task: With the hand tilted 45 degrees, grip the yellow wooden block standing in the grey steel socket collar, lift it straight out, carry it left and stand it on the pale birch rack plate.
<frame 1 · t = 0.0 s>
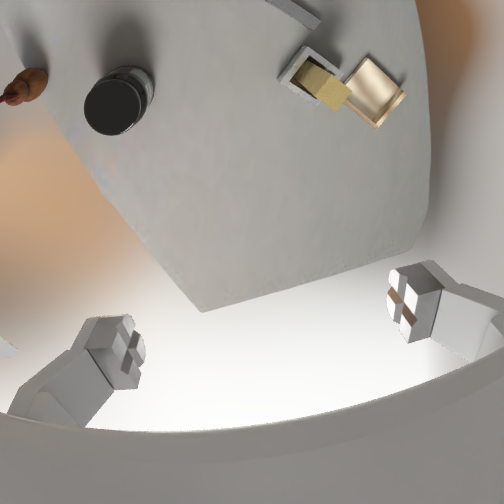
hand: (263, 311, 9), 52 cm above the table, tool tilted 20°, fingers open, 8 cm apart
wooden figurine: (39, 78, 40), on the table
rack plate: (368, 91, 52), on the table
gray rectangular bar: (292, 10, 40), on the table
yellow wooden block: (319, 82, 44), in the socket collar
socket collar: (308, 74, 49), on the table
supplement container: (129, 89, 47), on the table
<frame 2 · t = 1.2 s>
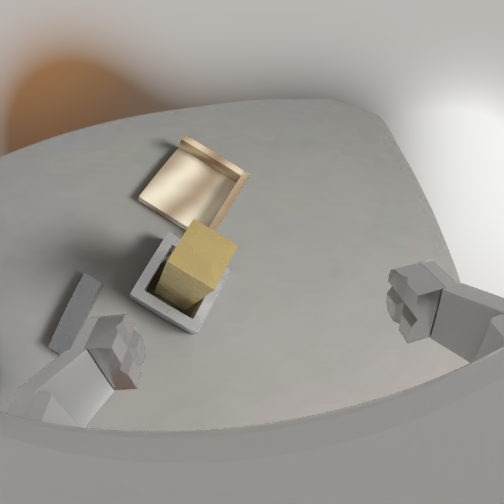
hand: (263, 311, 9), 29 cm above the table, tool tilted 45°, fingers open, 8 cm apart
rack plate: (192, 192, 41), on the table
gray rectangular bar: (77, 316, 31), on the table
yellow wooden block: (188, 273, 31), in the socket collar
socket collar: (178, 286, 37), on the table
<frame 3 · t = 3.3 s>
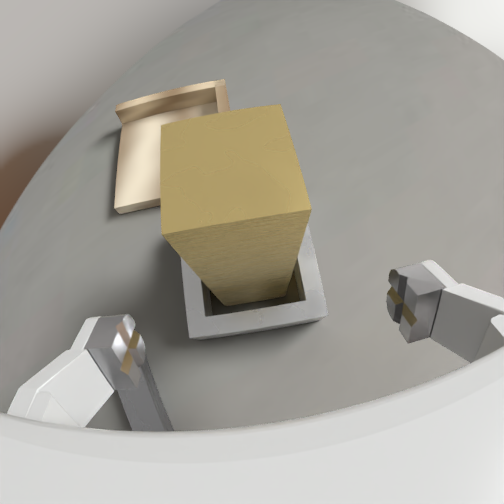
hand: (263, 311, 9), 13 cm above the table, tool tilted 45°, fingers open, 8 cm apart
rack plate: (176, 151, 27), on the table
gray rectangular bar: (154, 416, 20), on the table
yellow wooden block: (243, 238, 16), in the socket collar
socket collar: (250, 272, 23), on the table
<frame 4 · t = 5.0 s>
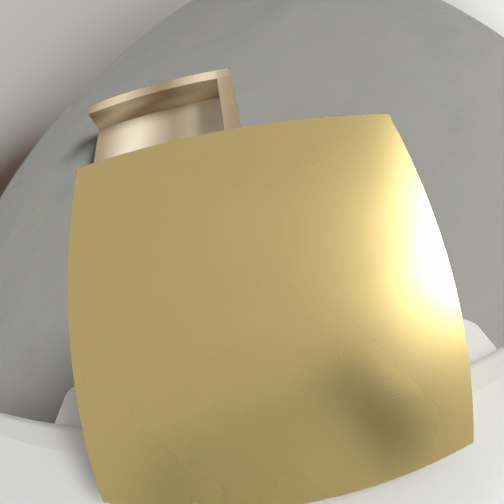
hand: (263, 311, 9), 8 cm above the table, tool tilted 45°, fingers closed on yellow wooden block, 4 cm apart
rack plate: (166, 164, 20), on the table
yellow wooden block: (267, 334, 10), in the socket collar, touching gripper
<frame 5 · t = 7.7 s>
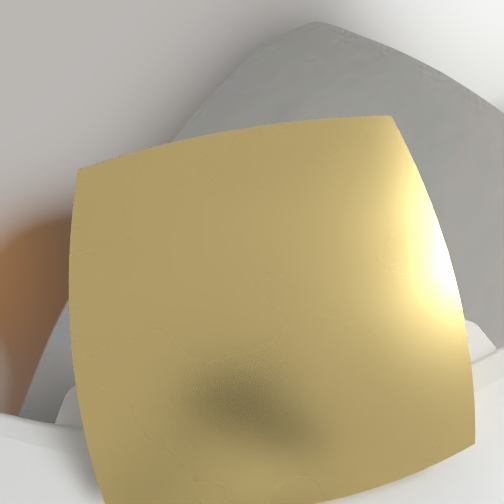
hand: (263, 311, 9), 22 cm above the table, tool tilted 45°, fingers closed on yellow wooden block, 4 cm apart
yellow wooden block: (268, 335, 10), point 21 cm above the table, touching gripper
when the fingers open (10 cm above the table, at t = 10.7 s): yellow wooden block drops 1 cm, resting on rack plate.
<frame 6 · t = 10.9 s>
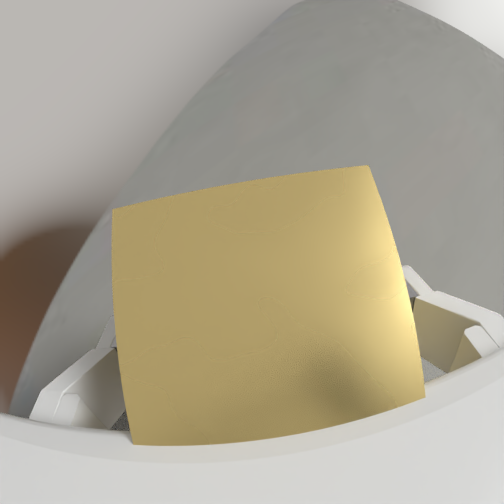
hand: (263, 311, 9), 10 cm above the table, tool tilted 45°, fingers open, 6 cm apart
yellow wooden block: (267, 337, 11), point 8 cm above the table, touching rack plate
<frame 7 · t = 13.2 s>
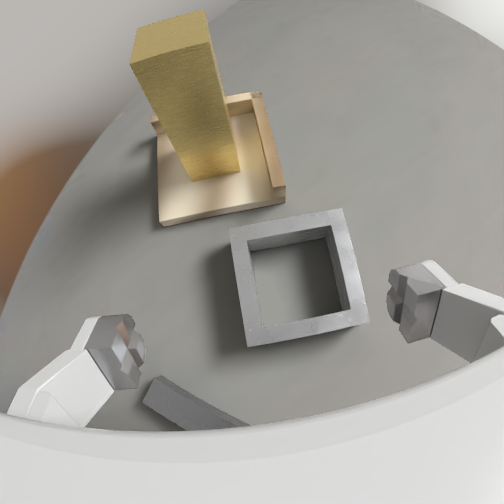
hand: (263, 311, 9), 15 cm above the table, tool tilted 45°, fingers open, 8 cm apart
rack plate: (216, 162, 28), on the table
gray rectangular bar: (207, 417, 22), on the table
yellow wooden block: (195, 106, 20), point 8 cm above the table, touching rack plate
socket collar: (296, 282, 24), on the table
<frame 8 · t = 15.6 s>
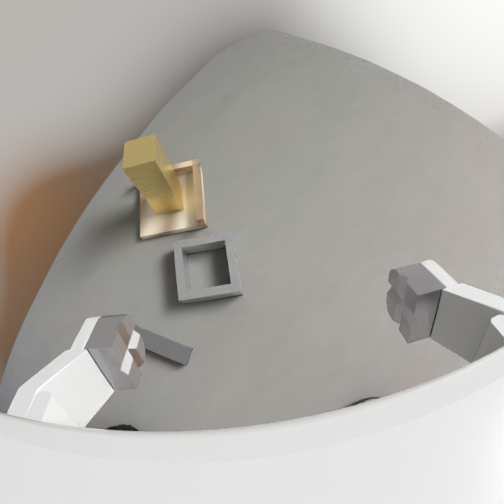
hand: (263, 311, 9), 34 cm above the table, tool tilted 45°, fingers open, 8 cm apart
rack plate: (172, 203, 49), on the table
gray rectangular bar: (160, 344, 42), on the table
yellow wooden block: (156, 178, 41), point 8 cm above the table, touching rack plate
socket collar: (209, 270, 45), on the table
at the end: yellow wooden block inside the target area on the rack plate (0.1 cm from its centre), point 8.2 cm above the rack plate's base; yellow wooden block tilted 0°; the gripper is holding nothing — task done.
